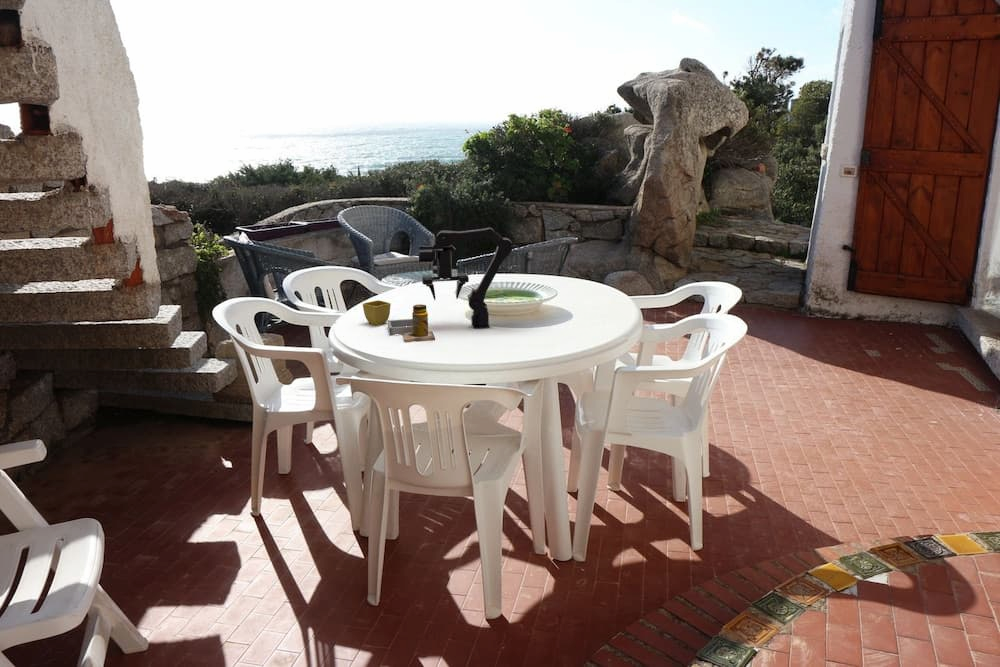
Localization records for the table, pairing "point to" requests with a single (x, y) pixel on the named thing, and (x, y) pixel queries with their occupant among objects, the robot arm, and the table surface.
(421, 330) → the condiment
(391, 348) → the table surface
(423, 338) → the walnut board
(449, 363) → the table surface
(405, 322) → the parts tub
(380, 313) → the flower pot
